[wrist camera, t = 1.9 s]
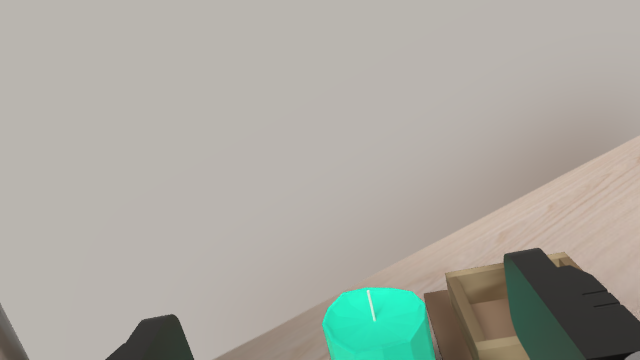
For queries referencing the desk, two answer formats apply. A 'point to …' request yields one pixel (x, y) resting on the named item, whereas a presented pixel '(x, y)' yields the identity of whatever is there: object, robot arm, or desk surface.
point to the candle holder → (478, 314)
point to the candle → (378, 326)
